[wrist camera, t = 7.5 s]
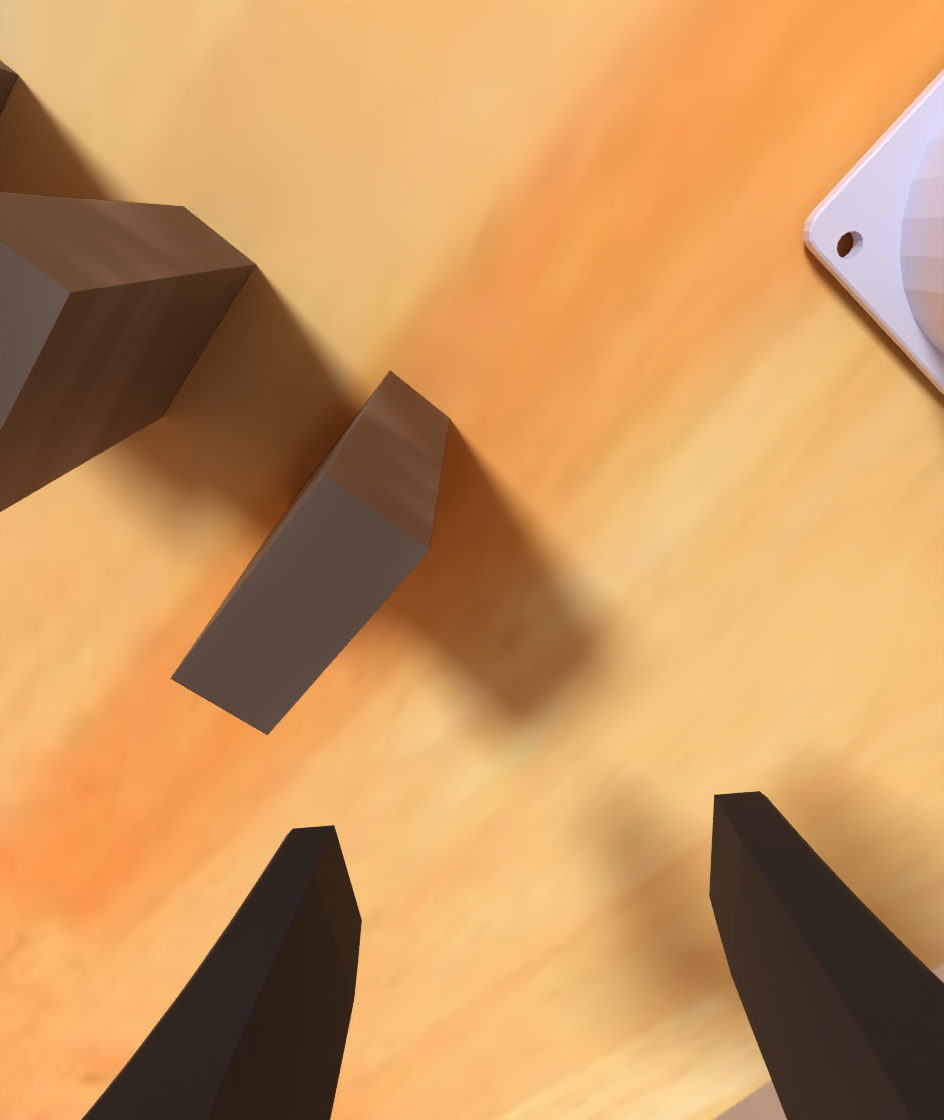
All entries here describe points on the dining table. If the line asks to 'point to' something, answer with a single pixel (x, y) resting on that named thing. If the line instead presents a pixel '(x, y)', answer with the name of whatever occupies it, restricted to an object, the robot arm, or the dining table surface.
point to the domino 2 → (326, 561)
